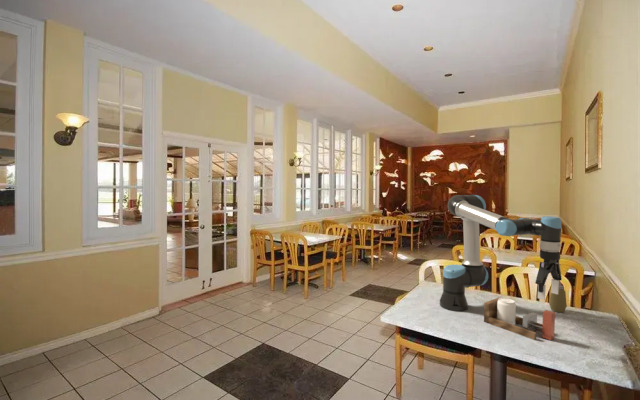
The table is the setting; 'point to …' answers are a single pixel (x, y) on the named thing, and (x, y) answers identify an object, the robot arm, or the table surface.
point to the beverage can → (506, 310)
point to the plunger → (546, 328)
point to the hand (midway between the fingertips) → (548, 296)
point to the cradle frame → (491, 318)
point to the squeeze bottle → (558, 300)
